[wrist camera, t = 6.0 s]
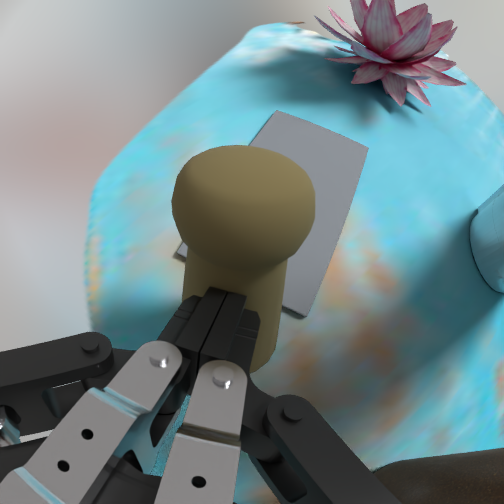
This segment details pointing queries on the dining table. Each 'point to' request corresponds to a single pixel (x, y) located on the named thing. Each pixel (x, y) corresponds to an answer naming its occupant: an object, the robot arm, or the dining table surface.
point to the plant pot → (447, 478)
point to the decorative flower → (396, 48)
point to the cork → (243, 228)
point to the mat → (326, 197)
